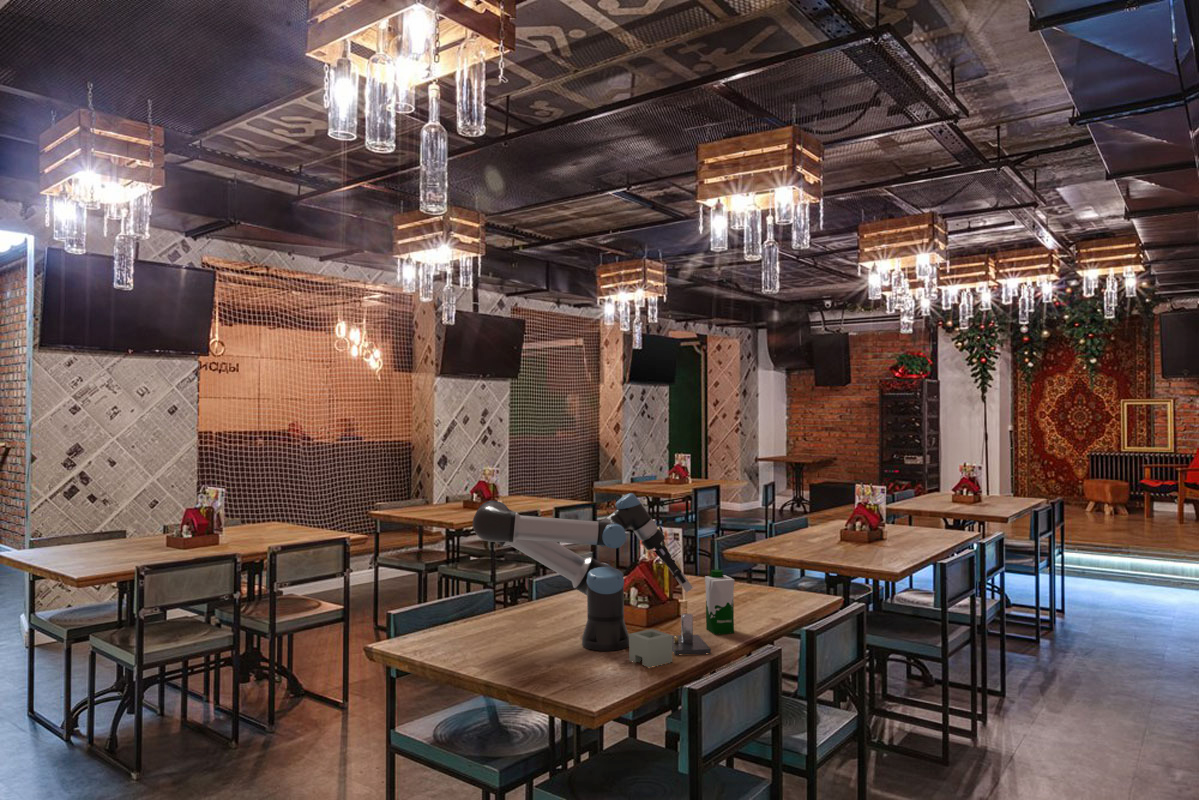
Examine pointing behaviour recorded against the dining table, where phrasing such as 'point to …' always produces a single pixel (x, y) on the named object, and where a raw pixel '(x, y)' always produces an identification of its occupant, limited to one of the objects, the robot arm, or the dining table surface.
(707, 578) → the milk carton
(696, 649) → the base plate
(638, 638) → the notched green box
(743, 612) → the dining table surface
